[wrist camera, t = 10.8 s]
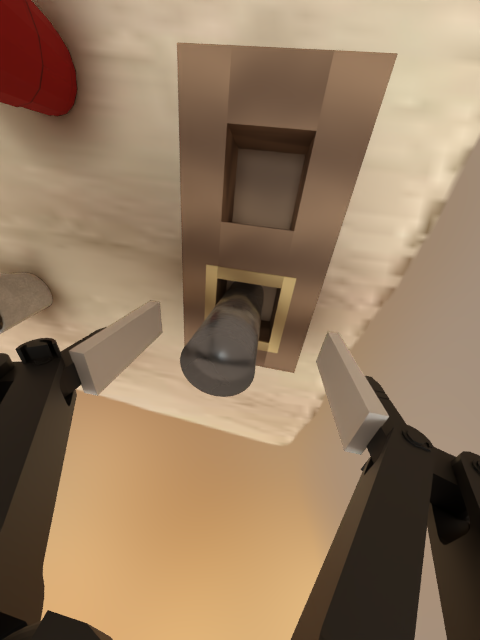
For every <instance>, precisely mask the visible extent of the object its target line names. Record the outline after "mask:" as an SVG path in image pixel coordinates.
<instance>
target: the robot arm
mask: <svg viewBox="0 0 480 640" xmlns="http://www.w3.org/2000/svg"><path fill="white" fill-rule="evenodd" d="M161 333H162V322H161V311H160V302H156V301H151V300H150V301H149V302H147V303H145V304H144V305H142V306H141V307H139V308H137V309H136V310H134V311H132V312H131V313H129V314H128V315H126V316H124V317H123V318H121V319H119V320H118V321H116V322H115V323H113V324H111V325H110V326H108V327H105V328H102V329H99V330H96V331H95V332H93V333H91V334H90V335H89V336H86V337H85V338H83V339H82V340H80V341H78V342H76V343H74V344H73V345H71V346H69V347H68V348H66V349H64V350H63V351H61V352H60V350H59V347H58V345H57V342H56V340H54V339H51V338H40V339H36V340H32V341H29V342H26V343H24V344H22V345H20V346H19V347H17V348H16V351H17V353H18V355H19V357H20V359H21V361H22V362H12V361H11V359H10V357H9V355H7V354H4V353H0V640H112V638H111V637H110V636H108V635H106V634H105V633H103V632H101V631H99V630H98V629H96V628H94V627H92V626H91V625H89V624H87V623H84V622H81V621H78V620H75V619H72V618H69V617H66V616H63V615H60V614H57V613H54V612H51V611H49V610H48V611H47V612H46V614H45V616H44V618H43V619H42V621H40V620H41V615H42V609H43V601H44V581H43V562H44V557H45V552H46V547H47V542H48V536H49V532H50V527H51V522H52V517H53V512H54V507H55V502H56V496H57V491H58V486H59V481H60V476H61V471H62V466H63V461H64V456H65V451H66V446H67V441H68V436H69V431H70V426H71V421H72V416H73V411H74V406H75V401H76V396H77V394H76V390H75V389H76V388H78V387H79V386H80V385H82V388H83V390H84V393H88V394H93V395H97V396H98V395H99V394H100V393H101V392H102V391H103V390H104V389H105V388H106V387H107V386H108V385H109V384H110V383H111V382H112V381H113V380H114V379H115V378H116V377H117V376H118V375H119V374H120V373H121V372H122V371H123V370H124V369H125V368H126V367H127V366H129V365H130V364H131V363H132V362H133V361H134V360H135V359H136V358H137V357H138V356H139V355H140V354H141V353H142V352H143V351H144V350H145V349H146V348H147V347H148V346H149V345H150V344H151V343H152V342H153V341H154V340H155V339H156V338H157V337H158V336H159V335H160V334H161ZM316 362H317V366H318V369H319V372H320V375H321V378H322V382H323V385H324V388H325V391H326V394H327V397H328V401H329V404H330V407H331V410H332V413H333V416H334V420H335V423H336V426H337V429H338V432H339V436H340V439H341V442H342V445H343V448H344V451H347V452H352V453H356V454H360V455H361V454H362V453H363V451H364V450H365V449H366V447H367V448H368V451H369V453H370V456H371V457H370V458H369V459H368V461H367V462H366V463H365V464H364V466H363V467H362V468H361V470H362V471H363V472H362V475H361V477H360V480H359V482H358V484H357V486H356V489H355V491H354V493H353V496H352V498H351V500H350V503H349V505H348V507H347V510H346V512H345V514H344V517H343V519H342V521H341V524H340V526H339V528H338V531H337V533H336V535H335V538H334V540H333V543H332V545H331V547H330V549H329V552H328V554H327V556H326V559H325V561H324V563H323V566H322V568H321V570H320V573H319V575H318V577H317V580H316V582H315V584H314V587H313V589H312V592H311V594H310V596H309V598H308V601H307V603H306V605H305V608H304V610H303V612H302V615H301V617H300V619H299V622H298V624H297V626H296V629H295V631H294V633H293V636H292V638H291V640H414V637H415V628H416V619H417V610H418V602H419V593H420V583H421V574H422V566H423V557H424V548H425V539H426V531H427V527H428V533H429V538H430V544H431V550H432V555H433V561H434V566H435V573H436V578H437V584H438V589H439V595H440V601H441V607H442V612H443V618H444V624H445V630H446V635H447V640H480V456H479V455H477V454H474V453H471V452H462V453H461V454H460V455H458V456H457V457H455V456H453V455H450V454H448V453H446V452H444V451H442V450H439V449H437V448H435V447H433V445H432V443H431V442H430V441H429V440H428V439H427V437H426V436H425V435H424V434H422V433H421V432H419V431H418V430H417V429H415V428H413V427H411V426H409V425H406V423H405V422H404V420H403V419H402V417H401V416H400V414H399V413H398V411H397V410H396V408H395V407H394V405H393V404H392V402H391V401H390V400H389V398H388V396H387V395H386V394H385V392H384V390H383V389H382V387H381V386H380V384H379V383H378V382H376V381H375V380H374V379H373V378H372V377H369V376H364V374H363V372H362V371H361V369H360V368H359V366H358V364H357V362H356V361H355V359H354V357H353V356H352V354H351V352H350V351H349V349H348V348H347V346H346V344H345V343H344V341H343V339H342V338H341V336H340V334H339V333H335V332H330V331H328V332H327V334H326V337H325V340H324V342H323V345H322V347H321V350H320V353H319V355H318V358H317V360H316Z"/></svg>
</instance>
